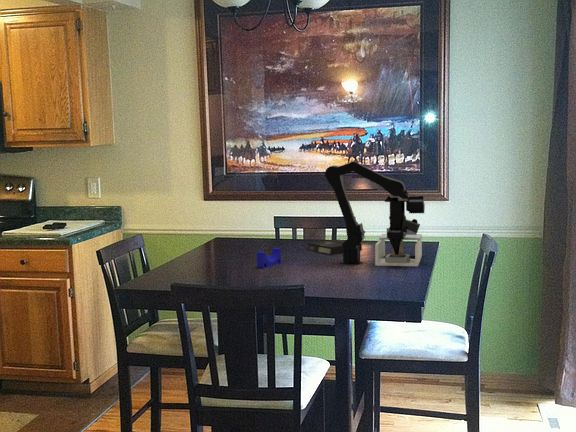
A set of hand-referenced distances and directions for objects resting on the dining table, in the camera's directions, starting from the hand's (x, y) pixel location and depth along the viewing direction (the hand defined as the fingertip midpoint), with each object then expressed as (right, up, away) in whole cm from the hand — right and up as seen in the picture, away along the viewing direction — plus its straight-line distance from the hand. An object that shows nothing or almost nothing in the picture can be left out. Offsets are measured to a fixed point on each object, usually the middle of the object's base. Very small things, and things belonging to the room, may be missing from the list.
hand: (397, 253), depth 272 cm
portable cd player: (-22, -2, +34) cm, 41 cm away
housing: (+2, -3, +7) cm, 8 cm away
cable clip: (-50, -5, +5) cm, 51 cm away
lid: (+3, +6, +12) cm, 14 cm away
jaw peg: (0, -1, 0) cm, 1 cm away
